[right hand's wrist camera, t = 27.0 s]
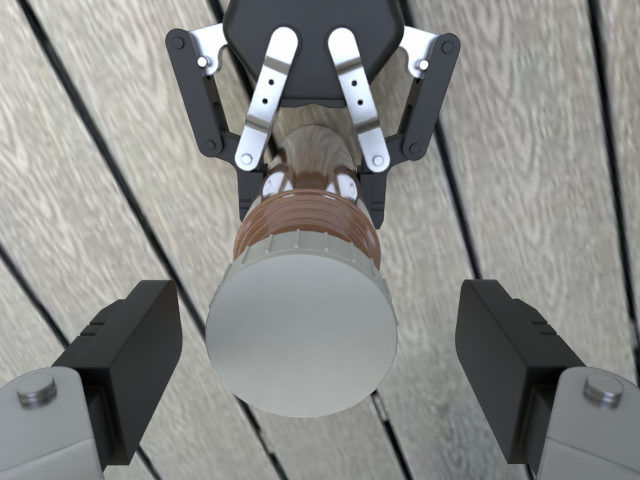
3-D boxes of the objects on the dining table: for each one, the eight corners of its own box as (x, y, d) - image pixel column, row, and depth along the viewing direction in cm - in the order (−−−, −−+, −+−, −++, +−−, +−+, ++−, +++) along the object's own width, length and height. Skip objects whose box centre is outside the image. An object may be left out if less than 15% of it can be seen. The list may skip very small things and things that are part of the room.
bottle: (294, 208, 32) (254, 425, 13) (264, 141, 30) (168, 275, 11) (361, 182, 31) (425, 370, 12) (335, 112, 29) (361, 202, 10)
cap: (248, 396, 13) (240, 436, 12) (190, 253, 12) (172, 281, 10) (405, 360, 13) (416, 398, 11) (367, 207, 11) (375, 229, 10)
